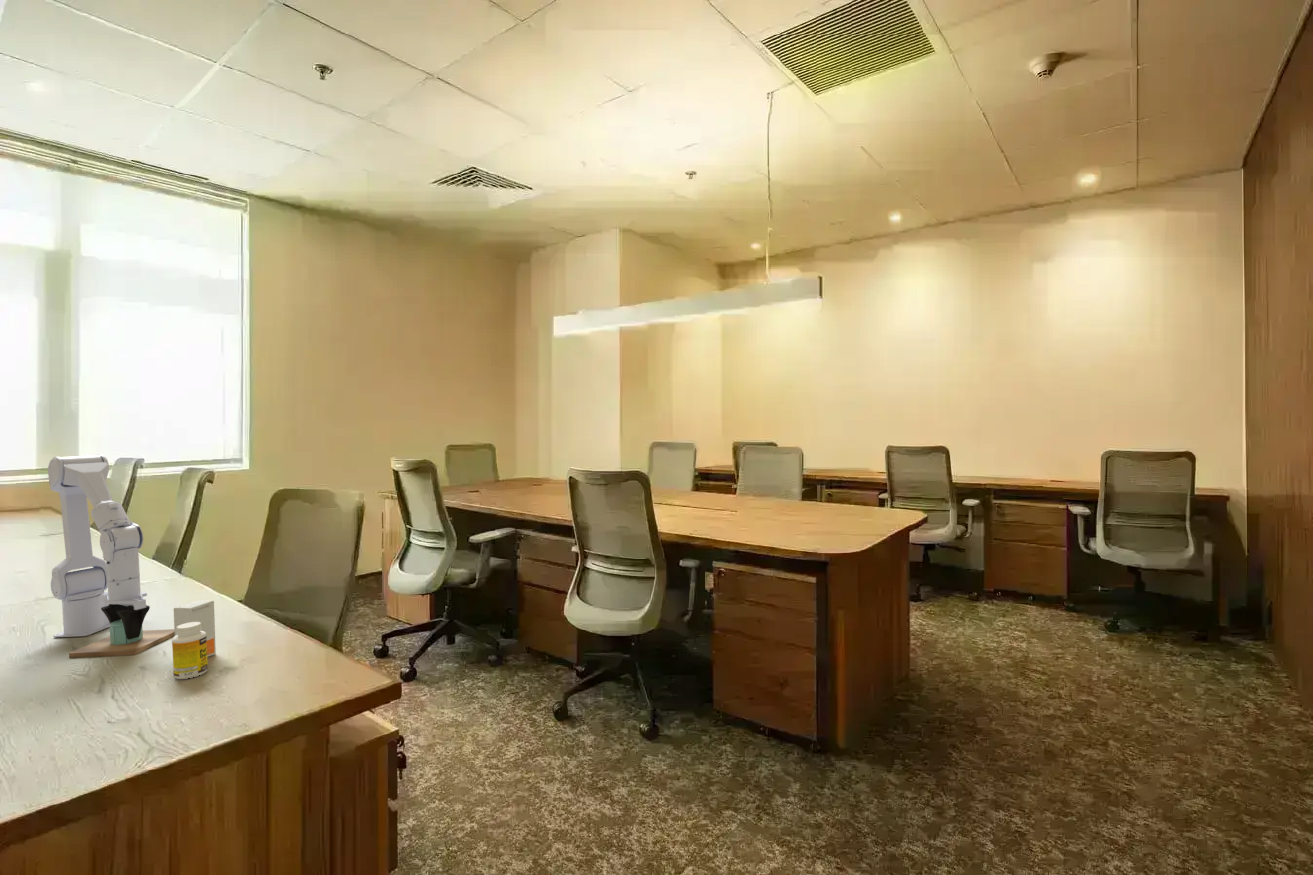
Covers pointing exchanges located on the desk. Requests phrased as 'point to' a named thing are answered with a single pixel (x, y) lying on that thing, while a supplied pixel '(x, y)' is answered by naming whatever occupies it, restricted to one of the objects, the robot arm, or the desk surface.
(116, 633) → the cap
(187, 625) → the supplement bottle
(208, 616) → the skincare box
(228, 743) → the desk surface
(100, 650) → the post fixture
